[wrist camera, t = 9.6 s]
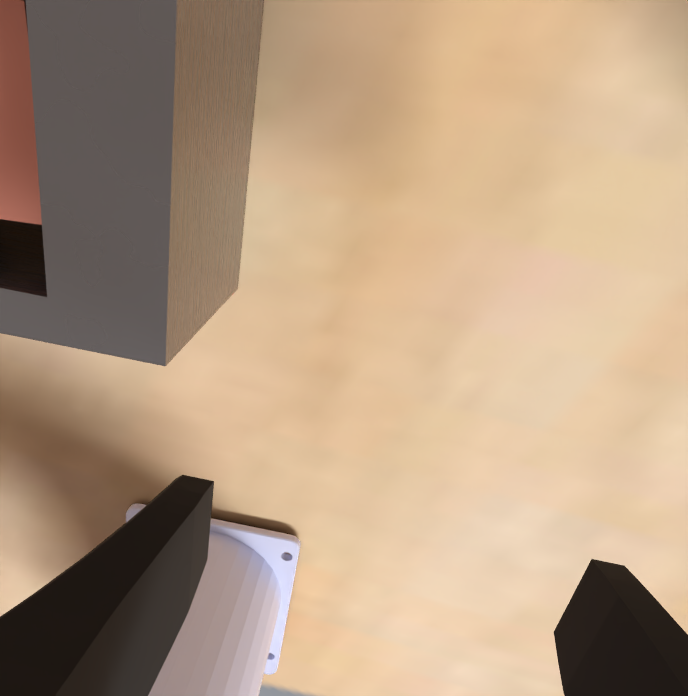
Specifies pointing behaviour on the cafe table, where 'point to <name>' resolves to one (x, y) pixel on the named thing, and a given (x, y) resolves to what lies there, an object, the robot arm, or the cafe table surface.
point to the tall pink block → (17, 119)
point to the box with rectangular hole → (133, 173)
